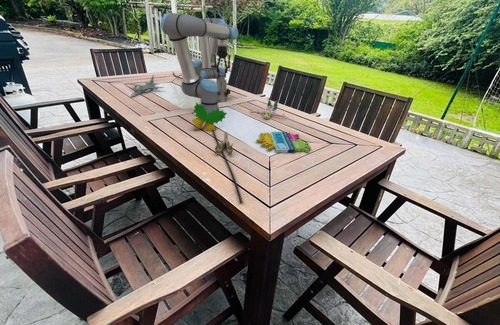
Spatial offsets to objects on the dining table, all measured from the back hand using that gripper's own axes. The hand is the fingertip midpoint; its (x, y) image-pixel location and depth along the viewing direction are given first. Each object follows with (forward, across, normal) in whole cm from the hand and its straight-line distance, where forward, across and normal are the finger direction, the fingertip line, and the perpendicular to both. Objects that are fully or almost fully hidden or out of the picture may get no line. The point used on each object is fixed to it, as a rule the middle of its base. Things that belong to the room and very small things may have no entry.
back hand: (222, 94), depth 212 cm
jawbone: (+89, +2, -6) cm, 89 cm away
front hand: (-5, 0, +13) cm, 14 cm away
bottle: (-5, 0, -6) cm, 8 cm away
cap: (-5, 0, +15) cm, 16 cm away
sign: (+79, -32, -6) cm, 85 cm away
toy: (+27, -35, -6) cm, 44 cm away
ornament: (+57, +10, -6) cm, 59 cm away
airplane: (-27, +66, -6) cm, 71 cm away
